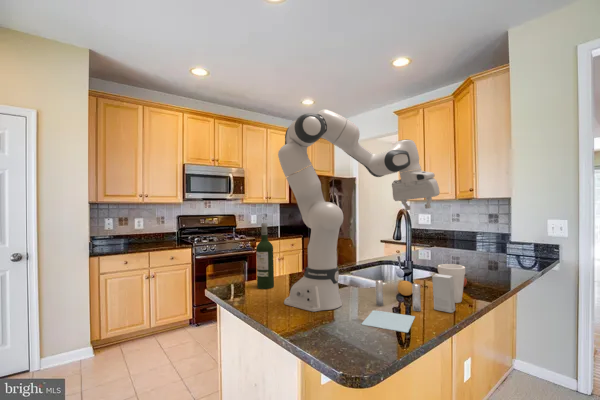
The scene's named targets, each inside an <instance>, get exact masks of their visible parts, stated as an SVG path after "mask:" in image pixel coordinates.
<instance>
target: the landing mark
mask: <svg viewBox="0 0 600 400" xmlns="http://www.w3.org/2000/svg"><path fill="white" fill-rule="evenodd" d="M415 319H416V316H415V315H409V314H401V313H395V312H389V311H381V310H376V309H375V310H374V309H372V311H371V312H370V313H369V315H368V316H367V317H366V318H365V319H364V320H363V321H362V322H361V326H366V327H371V328H378V329H384V330H389V331H394V332H399V333H400V332H401V333H406V334H408V333H409V331H410V330H411V327H412V325H413V323H414V321H415Z"/></svg>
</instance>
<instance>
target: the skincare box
mask: <svg viewBox="0 0 600 400" xmlns="http://www.w3.org/2000/svg"><path fill="white" fill-rule="evenodd" d="M431 279H432V294H433V295H432V296H433V310H435V311H441V312H445V313H449V314H453V313H454V312H455V311H456V303H455V296H454V280H453V276H449V275H441V274H439V273H435V274H433V275H431Z"/></svg>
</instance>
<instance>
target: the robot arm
mask: <svg viewBox="0 0 600 400" xmlns="http://www.w3.org/2000/svg"><path fill="white" fill-rule="evenodd" d="M284 136H285V137H284V145H283V146H281V148H279V150H278V152H277V158H278V160H279V163H280V167H281V170H282V172H283V174H284V177H285V179H286V181H287V182H288V185H289V187H290V189H291V191H292V193H293V195H294V198H295V200H296V204H297V207H298V209H299V212H300V215H301V219H302V221H303V223H304V224H305V225H306V227H307V228H309V229H310V236H309V237H310V238H309V241H308V244H307V267H304V268H303V269H302V272H301V273H304V274H303V277H301V278H300V279H299V280H297V281H296V282H295V283H294V284H293V285H292V286H291V288H290V291H289V296H287V297H285V299H284V300H283V304H284V305H285V306H286V305H287V306H289V307H295V308H297V309H301V310H305V311H308V312H320V311H328V310H335V309H338V308H340V307H342V306H343V301H342V298H341V293H340V288H339V280H340V279H339V267H338V253H337V251H338V250H337V247H338V239H339V234H340V228H341V227H342V225H343V222H344V213H343V210H342V208H340V207H339V206H338V205H337V204H335V203H334V202H330V201H326V200H325V198H324V193H323V190H322V182H321V180H320V178H319V176H318V174H317V172H316V170H315V168H314V166H313V164H312V162H311V160H310V158H309V154H308V148H309V147H311V146H312V145H314V144H315V143H316V142H318V141H319V139H323V140H326V141H327V142H329V143H331V144H332V145H334V146H336V147H337V148H339V149H341V150H342V151H343V152H344V153H345V154H347V155H348V156H349V157H351V158H352V159H354V160H355V161H357V162H358V163H360V164H361V165H362V166H363V167H364V168H365V169H366V170H367V172H369V174H370V175H372V176H373V177H376V178H381V177H385V176H388V175H392V174H395V173H398V172H399V177H400V179H397V180H396V179H395V180H393V182H391V188H392V199H393V200H394V202H399V201H400V202H401V204H402V205H403V206H404V210H405V211H409V210H410V211H411V205H409V204H408V203H407V202H408V200H417V199H423V198H424V199H425V200H426V204H424V208H425V209H431V208H432V206H431V202H432V201H433V197H437V196H438V197H439V195H440V187H439V184H438V181H437V179H436V178H435V172H432V171H423V170H422V167H421V164H420V155H419V150H418V147H417V145H416V143H415V140H413V139H401V140H398V141H396V142H395V143H394V144H393V146H392V147H391V148H389V149H388V150H387V151H383V152H381V153H373V152H370V151H369V150H368V149H366V148H365V147H364V146H362V145H361V144H360V143H359V140H360V130H359V127H358V126H357V125H356V124H355V123H354V122H353V121H351V120H349V119H348V118H346V117H344V116H343V115H341V114H339V113H337V112H334V111H332V110H330V109H326V108H324V109H321V110H319V111H318V112H316V113H303V114H301V115H299V117H298V118H297V119H295V120H294V121H292V122H291V124H290V125H289V126H288V128H287V129H286V131H285V134H284Z"/></svg>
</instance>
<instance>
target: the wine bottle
mask: <svg viewBox="0 0 600 400" xmlns="http://www.w3.org/2000/svg"><path fill="white" fill-rule="evenodd" d="M260 226H261V235H260V236H261V239H260V241H259V242H258V243H257V245H256V246H255V247H256V249H255V250H256V283H257V285H256V287H257V288H258V289H259V290H269V289H273V288H274V287H275V275H274V274H275V273H274V272H275V271H274V246H273V243H272V242H270V240H269V238H268V223H267V222H263V223H261V225H260Z"/></svg>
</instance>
